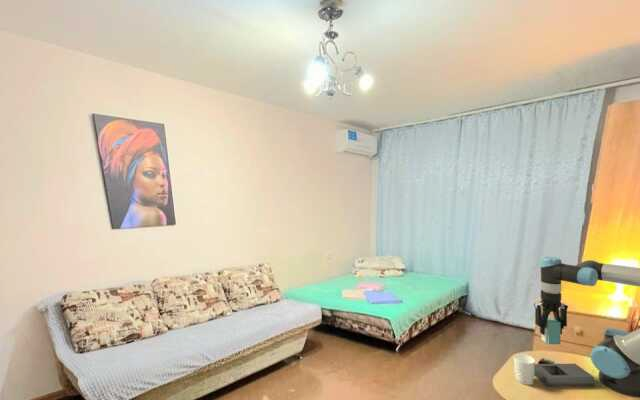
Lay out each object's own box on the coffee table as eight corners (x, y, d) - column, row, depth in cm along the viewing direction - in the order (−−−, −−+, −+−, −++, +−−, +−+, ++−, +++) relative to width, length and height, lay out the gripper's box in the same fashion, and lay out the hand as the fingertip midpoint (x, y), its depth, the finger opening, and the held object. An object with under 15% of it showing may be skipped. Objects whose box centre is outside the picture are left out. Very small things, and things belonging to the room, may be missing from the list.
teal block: (552, 338, 143) (552, 317, 142) (560, 344, 138) (560, 322, 137) (541, 338, 143) (541, 317, 143) (548, 344, 138) (548, 322, 138)
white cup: (538, 386, 131) (538, 364, 131) (518, 385, 133) (518, 362, 132) (529, 375, 139) (529, 354, 138) (510, 374, 140) (510, 352, 140)
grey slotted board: (575, 372, 141) (575, 363, 140) (594, 386, 131) (594, 376, 130) (531, 372, 141) (531, 364, 141) (546, 386, 131) (546, 377, 131)
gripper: (565, 288, 143) (565, 337, 144) (525, 288, 144) (525, 336, 145) (577, 293, 135) (577, 345, 136) (535, 294, 136) (535, 345, 137)
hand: (550, 340), depth 140 cm, fingers closed on teal block, 5 cm apart
